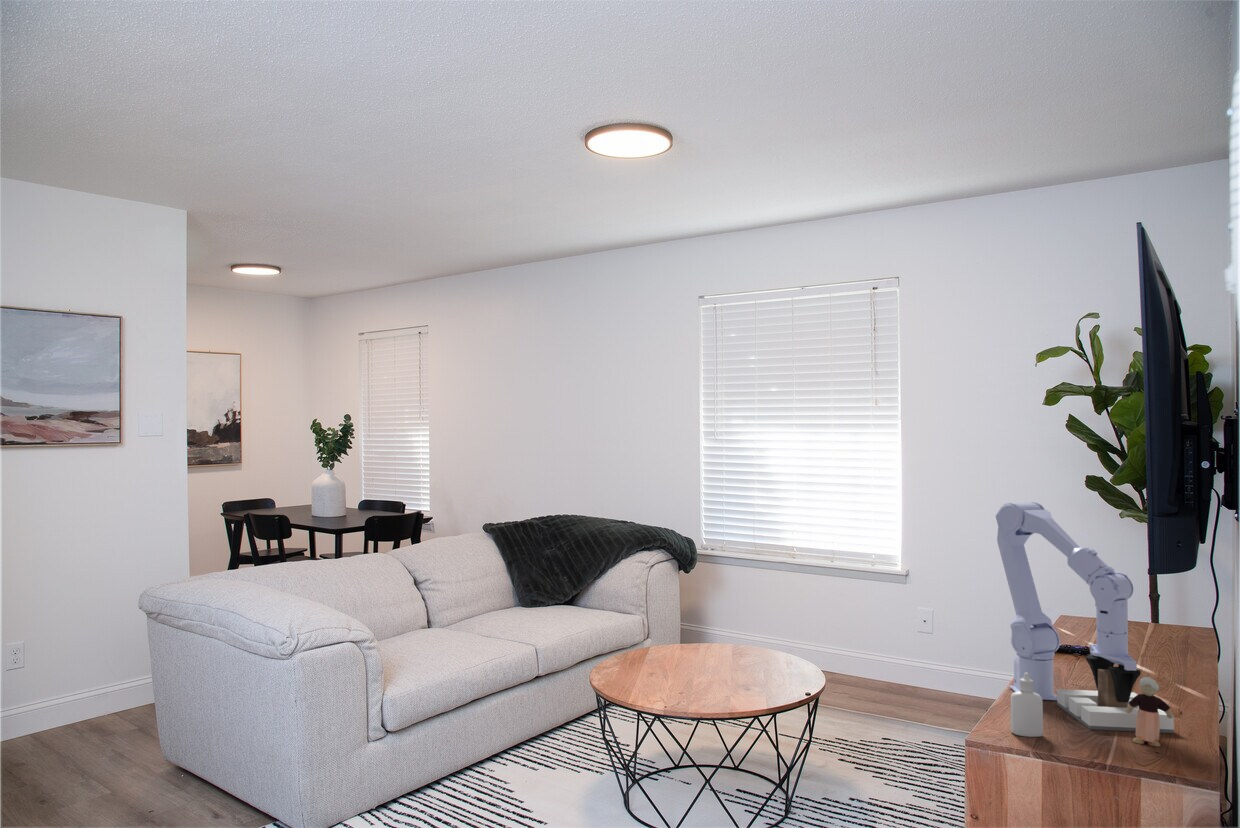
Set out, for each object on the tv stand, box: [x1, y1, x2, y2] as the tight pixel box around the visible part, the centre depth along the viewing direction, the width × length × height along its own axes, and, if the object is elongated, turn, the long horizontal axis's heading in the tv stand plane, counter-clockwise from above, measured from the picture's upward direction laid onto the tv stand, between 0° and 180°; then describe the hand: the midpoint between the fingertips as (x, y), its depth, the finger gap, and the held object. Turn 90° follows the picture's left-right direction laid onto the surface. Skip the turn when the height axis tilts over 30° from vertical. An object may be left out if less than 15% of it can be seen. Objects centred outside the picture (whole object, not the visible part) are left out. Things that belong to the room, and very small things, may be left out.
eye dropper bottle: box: [1010, 673, 1044, 738], centre depth 167 cm, size 4×6×12 cm
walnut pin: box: [1097, 669, 1128, 708], centre depth 178 cm, size 4×4×9 cm
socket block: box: [1056, 688, 1175, 734], centre depth 177 cm, size 16×16×4 cm
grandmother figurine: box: [1126, 676, 1174, 747], centre depth 163 cm, size 8×4×13 cm, turn 69°
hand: (1112, 696), depth 178 cm, fingers open, 7 cm apart
